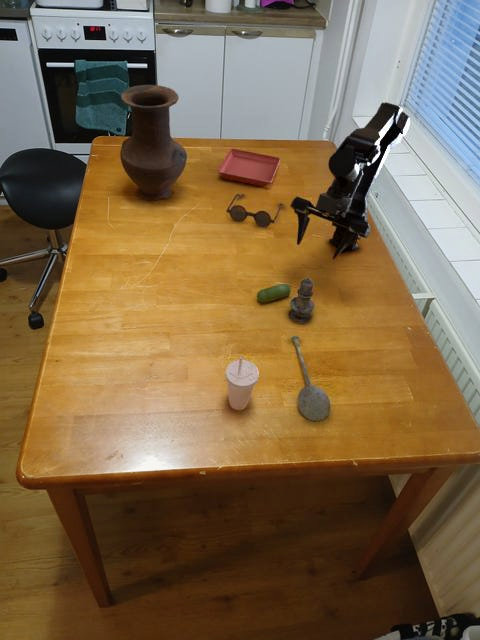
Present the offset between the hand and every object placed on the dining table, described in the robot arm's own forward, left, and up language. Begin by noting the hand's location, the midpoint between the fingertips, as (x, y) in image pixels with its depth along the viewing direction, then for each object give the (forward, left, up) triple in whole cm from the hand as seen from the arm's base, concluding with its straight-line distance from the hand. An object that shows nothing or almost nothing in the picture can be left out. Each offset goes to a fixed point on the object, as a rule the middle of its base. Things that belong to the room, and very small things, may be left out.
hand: (315, 251), depth 114 cm
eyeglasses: (-6, -38, -14) cm, 41 cm away
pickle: (+8, -2, -13) cm, 16 cm away
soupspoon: (+14, +23, -14) cm, 30 cm away
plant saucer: (-15, -60, -14) cm, 63 cm away
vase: (+19, -58, -14) cm, 63 cm away
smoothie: (+30, +23, -14) cm, 41 cm away
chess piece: (+5, +6, -14) cm, 16 cm away
